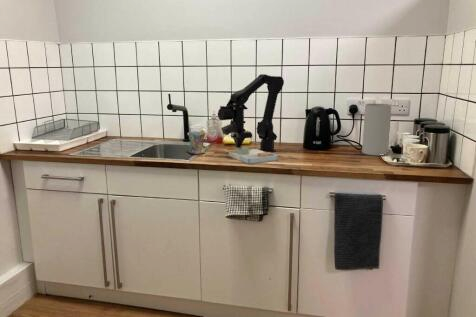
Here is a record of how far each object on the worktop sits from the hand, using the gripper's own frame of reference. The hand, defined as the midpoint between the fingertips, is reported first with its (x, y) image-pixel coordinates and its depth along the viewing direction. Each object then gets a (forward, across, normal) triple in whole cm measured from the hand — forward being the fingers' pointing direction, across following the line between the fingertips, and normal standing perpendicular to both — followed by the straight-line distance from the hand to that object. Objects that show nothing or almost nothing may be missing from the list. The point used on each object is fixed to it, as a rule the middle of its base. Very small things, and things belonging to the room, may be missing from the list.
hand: (238, 149), depth 201 cm
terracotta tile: (+3, +14, +8) cm, 16 cm away
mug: (+3, -14, -17) cm, 22 cm away
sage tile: (+1, +4, 0) cm, 4 cm away
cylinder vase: (+3, +29, +64) cm, 71 cm away
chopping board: (+3, +4, +4) cm, 6 cm away
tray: (+3, +14, +4) cm, 15 cm away
